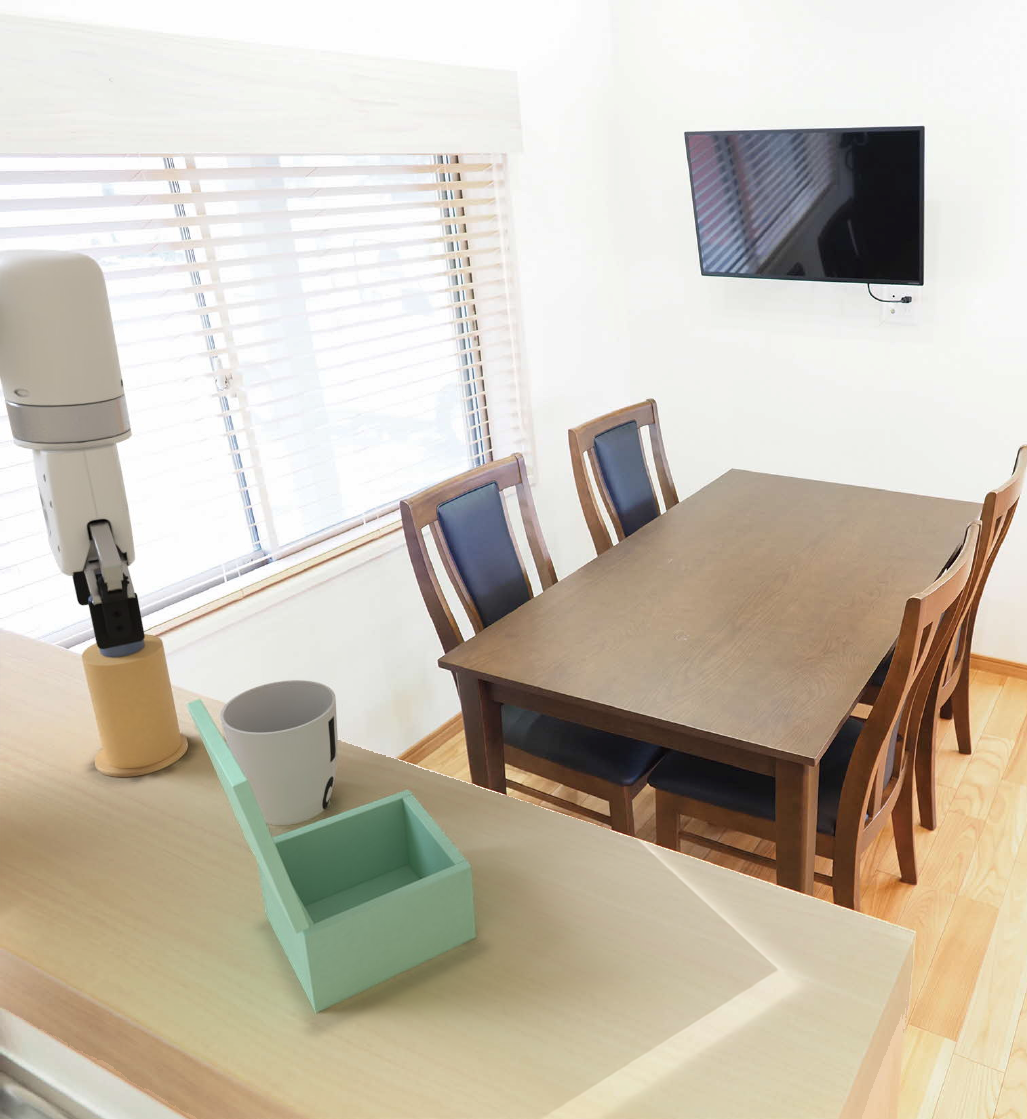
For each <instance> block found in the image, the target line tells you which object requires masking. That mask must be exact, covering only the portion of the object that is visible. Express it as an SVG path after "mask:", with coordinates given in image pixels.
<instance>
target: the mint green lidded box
mask: <svg viewBox="0 0 1027 1119" xmlns="http://www.w3.org/2000/svg"><path fill="white" fill-rule="evenodd" d="M272 838H273V841H274V843H275V846H276V848H277V850H278V853H279V855H280V857H281V860H282V862H283V865H284V867H285V869H286V872H287V874H288V876H289V879H290V881H291V883H292V886H293V888H294V891H295V893H296V895H297V898H298V900H299V902H300V905H301V907H302V909H303V912H304V914H305V917H306V919H307V921H308V924H309V927H308V928H307V929H305V930H303V931H302V932H300V933H298V934H296V933H295V931H294V929H293V927H292V925H291V924H290V922H289V920H288V918H287V916H286V914H285V912H284V910H283V909H282V907H281V905H280V903H279V901H278V899H277V897H276V895H275V894H274V892H273V890H272V888H271V886H270V884H269V882H268V880H267V878H266V877H265V875H264V873H263V871H262V869H261V867H260V865H259V863H258V862H257V861H256V865H257V869H258V876H259V882H260V888H261V894H262V900H263V906H264V912H265V915H266V917H267V921H268V922H269V924H270V925H271V928H272V930H273V932H274V933H275V935H276V937H277V939H278V942H279V943H280V945H281V947H282V949H283V952H284V953H285V955H286V958H287V959H288V961H289V963H290V965H291V968H292V969H293V971H294V973H295V975H296V977H297V979H298V981H299V983H300V984H301V987H302V989H303V991H304V993H305V996H306V997H307V999H308V1000H309V1002H310V1004H311V1007H312V1008H313V1011H314V1014H315V1013H316V1014H317V1013H320V1012H321V1011H324V1010H326V1009H328V1008H330V1007H332V1006H334V1005H337V1004H339V1003H341V1002H343V1001H345V1000H347V999H349V998H351V997H354V996H355V995H358V994H360V993H362V992H364V991H366V990H368V989H371V988H372V987H374V986H376V985H379V984H381V983H383V982H385V981H387V980H389V979H392V978H393V977H396V976H398V975H400V974H402V973H404V972H406V971H408V970H410V969H412V968H414V967H416V966H418V965H420V964H423V963H425V962H427V961H429V960H431V959H433V958H435V957H438V956H439V955H442V954H444V953H446V952H448V951H450V950H452V949H454V948H456V947H458V946H461V945H463V944H465V943H467V942H469V941H471V940H474V939H475V938H477V937H476V936H477V931H476V917H475V916H476V914H475V901H474V886H473V884H474V883H473V867H472V864H470V863H469V861H468V860H467V859H466V857H465V856H464V855H463V854H462V852H461V851H460V850H459V849H458V848H457V847H456V846H455V845H454V844H455V843H453V842H452V841H451V839H450V838H449V837H448V836H447V835H446V832H444V831H443V830H442V828H441V827H440V826H439V825H438V823H437V822H436V821H435V820H434V818H433V817H432V816H431V815H430V813H429V812H428V811H427V810H426V809H425V808H424V806H423V805H422V804H421V803H420V801H419V800H418V799H417V798H416V796H415V795H414V794H413V793H412V792H411V791H410V789H405V790H402V791H399V792H397V793H394V794H391V795H388V796H386V797H383V798H380V799H377V800H373V801H371V802H369V803H365V804H362V805H360V806H358V807H354V808H351V809H349V810H345V811H343V812H341V813H337V814H335V815H331V816H330V817H326V818H323V819H321V820H318V821H315V822H312V823H310V824H306V825H304V826H301V827H297V828H295V829H293V830H290V831H287V832H284V833H282V834H279V835H276V836H272Z"/></svg>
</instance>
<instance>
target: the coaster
mask: <svg viewBox="0 0 1027 1119" xmlns="http://www.w3.org/2000/svg"><path fill="white" fill-rule="evenodd" d="M180 735H181V740H182V744H181V746H180V748H179V749H178V751H177V752H176V753H174V754H173V755H172V756H170V757H169V758H167V759H165V760H163V761H160V762H158V763H155V764H152V765H149V766H144V767H139V768H117V767H113V766H111V765H109V764H108V763H107V762H106V761H105V757H104V753H103V748H101V749H100V750H99V751H98V752H97V754H96V755H95V758H94V765H95V768H96V770H97V771H98V772H99V773H100V774H102V775H105V776H108V777H112V778H113V777H114V778H130V777H139V776H143V775H148V774H151V773H154V772H158V771H160V770H163V769H165V768H167V767H169V766H171V765H173V764H174V763H176V762H177V761H179V760H180V759H181V758H182V757H183V756H184V755H185V754H186V752H187V751H188V748H189V741H188V738H187V737H186V736H185V735H184V734H183V733H182V732H180Z"/></svg>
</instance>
